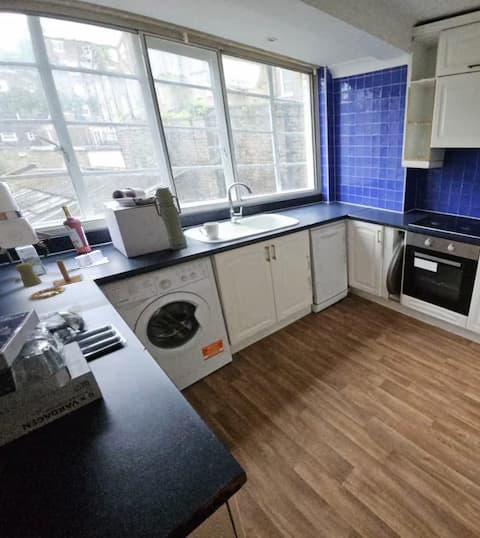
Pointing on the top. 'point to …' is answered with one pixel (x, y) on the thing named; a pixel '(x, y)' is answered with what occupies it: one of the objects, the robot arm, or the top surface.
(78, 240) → the liquor
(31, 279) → the cork
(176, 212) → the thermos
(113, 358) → the top surface
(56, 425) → the top surface
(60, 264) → the stand
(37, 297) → the brass hoop
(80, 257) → the napkin holder
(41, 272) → the syrup box
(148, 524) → the top surface
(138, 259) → the top surface
